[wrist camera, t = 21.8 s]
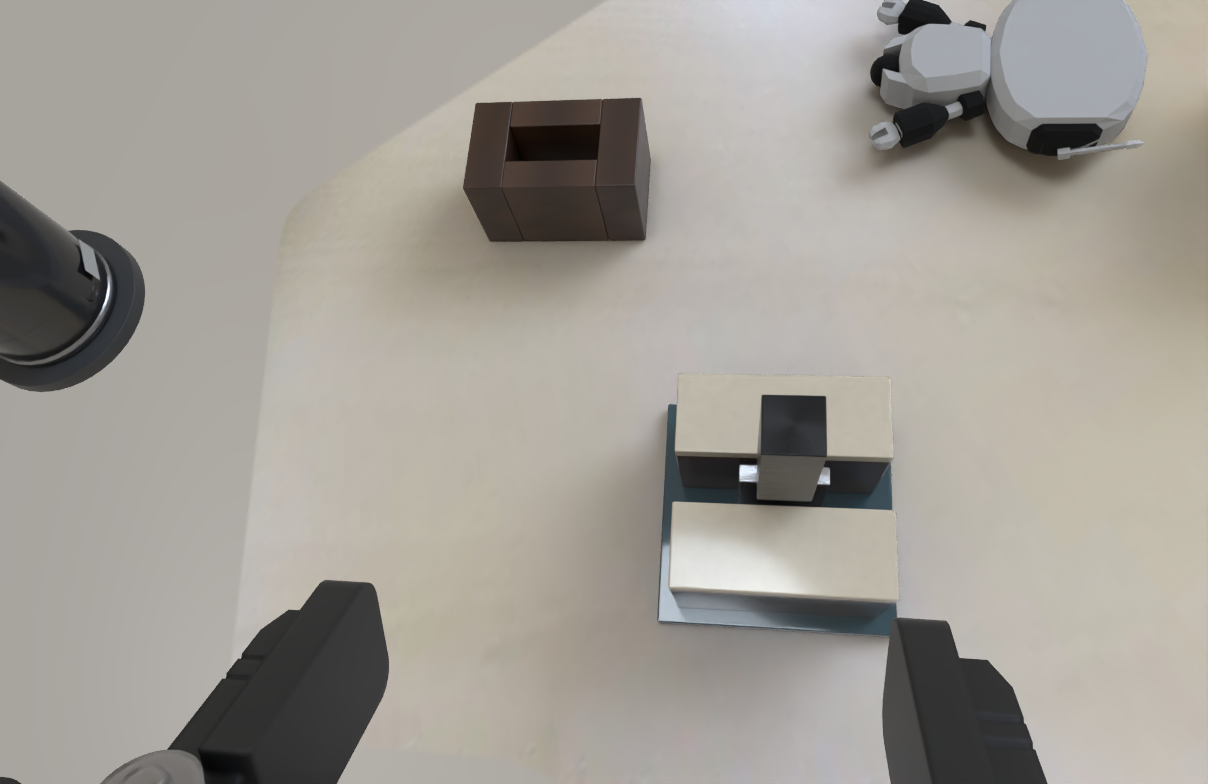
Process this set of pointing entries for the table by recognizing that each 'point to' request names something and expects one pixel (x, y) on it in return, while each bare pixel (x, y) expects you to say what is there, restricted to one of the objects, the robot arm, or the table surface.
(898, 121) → the robot toy
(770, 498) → the dark grey tall bar
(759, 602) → the slotted fixture
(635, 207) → the brown rectangular frame
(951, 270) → the table surface
